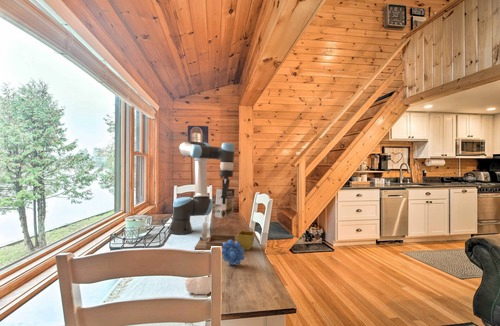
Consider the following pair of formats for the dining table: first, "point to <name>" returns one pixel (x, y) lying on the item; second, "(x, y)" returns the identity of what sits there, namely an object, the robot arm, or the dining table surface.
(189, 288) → the bust
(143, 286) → the dining table surface
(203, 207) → the robot arm
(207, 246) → the stand
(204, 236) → the latch bar
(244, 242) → the flower pot
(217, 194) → the coffee box
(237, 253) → the blue flower head
